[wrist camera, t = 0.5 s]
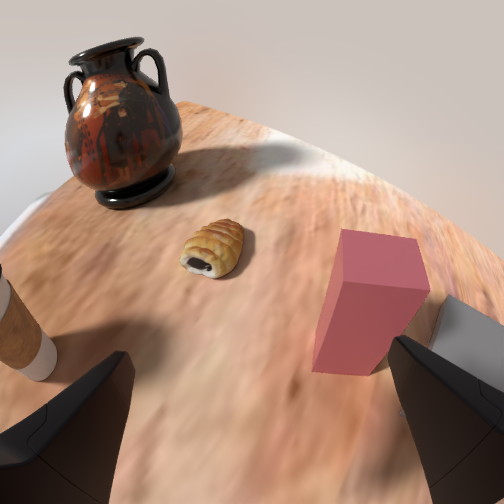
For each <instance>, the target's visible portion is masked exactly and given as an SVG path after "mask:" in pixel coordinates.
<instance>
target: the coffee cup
mask: <svg viewBox="0 0 504 504" xmlns="http://www.w3.org/2000/svg"><path fill="white" fill-rule="evenodd" d="M0 361H2V362H3V363H5V364H6V365H8V366H9V367H11V368H13V369H15V370H16V371H18V372H19V373H21V374H22V375H24V376H26V377H27V378H29V379H31V380H33V381H42V380H44V379H46V378H47V377H48V376H49V375H50V374H51V373H52V371H53V370H54V368H55V365H56V362H57V349H56V346H55V344H54V343H53V342H52V340H51V339H50V338H49V337H48V336H47V335H46V333H45V332H44V331H43V330H42V329H41V327H40V326H39V324H38V323H37V322H36V320H35V319H34V318H33V316H32V315H31V313H30V312H29V311H28V309H27V308H26V306H25V305H24V303H23V302H22V300H21V299H20V297H19V296H18V294H17V293H16V291H15V290H14V288H13V287H12V285H11V283H10V282H9V281H8V280H7V279H5V277H4V276H3V274H2V267H1V264H0Z"/></svg>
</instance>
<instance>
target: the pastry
mask: <svg viewBox="0 0 504 504" xmlns="http://www.w3.org/2000/svg"><path fill="white" fill-rule="evenodd" d="M243 239H244V230H243V228H242V226H241V225H240V224H239V223H237V222H234V221H231V220H230V219H222V220H218V221H216V222H214V223H210V224H209V225H208V226H203V227H202V228H201V230H200V231H196V232H195V233H194V235H193V238H192V239H189V240H187V241H186V243H185V245H184V250H183V253H182V255H181V258H180V259H179V262H180V264H181V266H183V267H184V268H185V269H187V270H188V271H189V272H192V273H194V274H202V275H205V276H206V277H209V278H212V279H214V278H218V277H221V276H223V275H226V274H227V273H229V272H230V271H232V270H233V268H234V267H235V265H236V264H237V261H238V258H239V255H240V253H241V249H242V245H243Z"/></svg>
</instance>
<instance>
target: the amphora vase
mask: <svg viewBox="0 0 504 504" xmlns="http://www.w3.org/2000/svg"><path fill="white" fill-rule="evenodd" d="M143 42H144V38H142V37H131V38H126V39H121V40H117V41H113V42H110V43H106V44H103V45H100V46H97V47H94V48H91V49H88V50H86V51H83V52H81V53H79V54H77V55H75V56H73V57H72V58H71V59H70V60H69V65H72V66H74V65H77V66H80V67H81V69H82V72H81V71H74V72H72V73H70V74H69V75H68V77H67V78H66V79H65V83H64V97H65V101H66V105H67V109H68V113H69V117H68V121H67V124H66V131H65V148H66V156H67V160H68V162H69V165H70V167H71V170H72V172H73V174H74V176H75V177H76V178H77V179H78V180H79V181H80V182H81V183H83V184H84V185H86V186H87V187H89V188H92V189H94V190H96V191H95V198H96V200H97V201H98V203H99V204H101V205H102V206H104V207H107V208H113V209H117V208H127V207H131V206H136V205H139V204H142V203H144V202H147V201H149V200H151V199H153V198H155V197H157V196H158V195H160V194H161V193H163V192H164V191H165V190H166V189H167V188H168V187H169V186H170V185H171V184H172V182H173V181H174V179H175V177H176V169H175V167H174V165H173V164H172V162H173V160H174V159H175V157H176V156H177V154H178V152H179V149H180V147H181V142H182V136H183V131H182V121H181V118H180V115H179V112H178V109H177V107H176V105H175V104H174V102H173V101H172V100H171V98H170V96H169V89H168V82H167V76H166V68H165V64H164V60H163V57H162V56H161V55H160V54H159V52H158V51H157V50H154V49H151V48H149V49H144V50H142V51H140V52H139V54H138V55H137V56H136V57H135V58H134V49H136V48H137V47H138V46H140V45H141V44H142V43H143ZM146 55H149V56H151V57H152V58H153V59H154V61H155V64H156V66H157V69H158V83H159V84H158V83H156V82H155V81H154V80H152V79H151V78H149V77H148V76H146V75H145V74H144V73H142V72H141V71H140V62H141V60H142V58H143V57H144V56H146ZM75 77H76V78H78V79H79V80H81V83H82V89H81V92H80V94H79V96H78V98H77V100H76V102H75V100H74V97H73V92H72V83H73V79H74V78H75Z"/></svg>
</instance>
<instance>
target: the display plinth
mask: <svg viewBox="0 0 504 504" xmlns="http://www.w3.org/2000/svg"><path fill="white" fill-rule="evenodd" d="M428 349H430V350H431V351H433V352H435V353H436V354H438V355H440V356H441V357H443V358H445V359H447V360H448V361H450V362H452V363H453V364H455V365H457V366H458V367H460V368H462V369H464V370H465V371H467V372H469V373H470V374H472V375H474V376H475V377H477V378H478V379H481V380H482V381H484V382H486V383H487V384H489V385H491V386H493V387H495V388H496V389H498V390H500V391H502V392H504V326H503V325H501V324H500V323H498V322H496V321H495V320H493V319H491V318H490V317H488V316H486V315H484V314H483V313H481V312H479V311H478V310H476V309H474V308H472V307H471V306H469V305H467V304H465V303H463V302H462V301H460V300H458V299H456V298H455V297H453V296H451V295H449V294H448V296H447V297H446V299H445V300H444V302H443V303H442V305H441V308H440V312H439V315H438V318H437V322H436V325H435V328H434V331H433V334H432V337H431V340H430V343H429V346H428ZM399 415H401V416H403V417H405V418H406V416H405V413H404V411H403V408H402V409H401V411H400V413H399Z"/></svg>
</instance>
